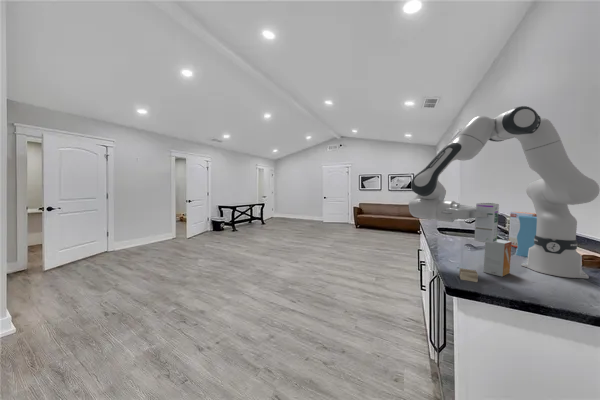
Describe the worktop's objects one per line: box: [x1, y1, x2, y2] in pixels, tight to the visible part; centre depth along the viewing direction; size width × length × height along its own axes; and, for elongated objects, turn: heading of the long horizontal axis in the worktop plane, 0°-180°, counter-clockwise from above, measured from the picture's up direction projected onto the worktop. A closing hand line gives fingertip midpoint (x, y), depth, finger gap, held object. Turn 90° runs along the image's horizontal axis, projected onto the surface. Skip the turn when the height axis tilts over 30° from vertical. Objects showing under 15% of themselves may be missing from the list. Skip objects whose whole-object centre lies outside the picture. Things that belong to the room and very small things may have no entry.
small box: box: [483, 238, 512, 277], centre depth 94 cm, size 8×6×13 cm
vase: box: [515, 216, 537, 258], centre depth 122 cm, size 8×8×20 cm
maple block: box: [458, 267, 479, 283], centre depth 88 cm, size 5×5×3 cm
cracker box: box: [508, 211, 537, 249], centre depth 137 cm, size 14×6×21 cm, turn 179°
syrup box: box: [474, 202, 500, 244], centre depth 89 cm, size 6×6×14 cm
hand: (490, 214), depth 88 cm, fingers closed on syrup box, 6 cm apart
